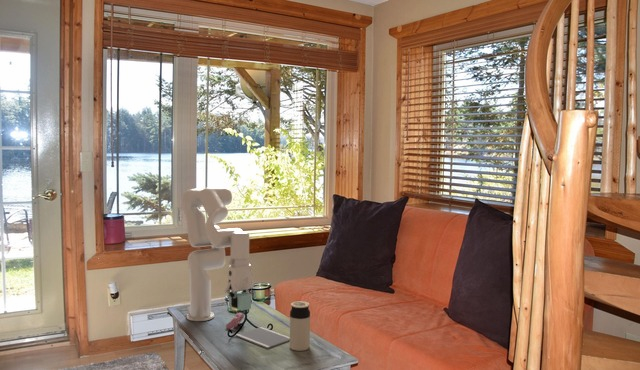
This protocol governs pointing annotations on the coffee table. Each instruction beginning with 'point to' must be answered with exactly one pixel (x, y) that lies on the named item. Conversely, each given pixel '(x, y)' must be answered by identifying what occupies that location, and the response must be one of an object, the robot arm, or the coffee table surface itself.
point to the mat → (264, 337)
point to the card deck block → (242, 300)
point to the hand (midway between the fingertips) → (239, 305)
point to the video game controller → (235, 321)
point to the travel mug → (299, 326)
